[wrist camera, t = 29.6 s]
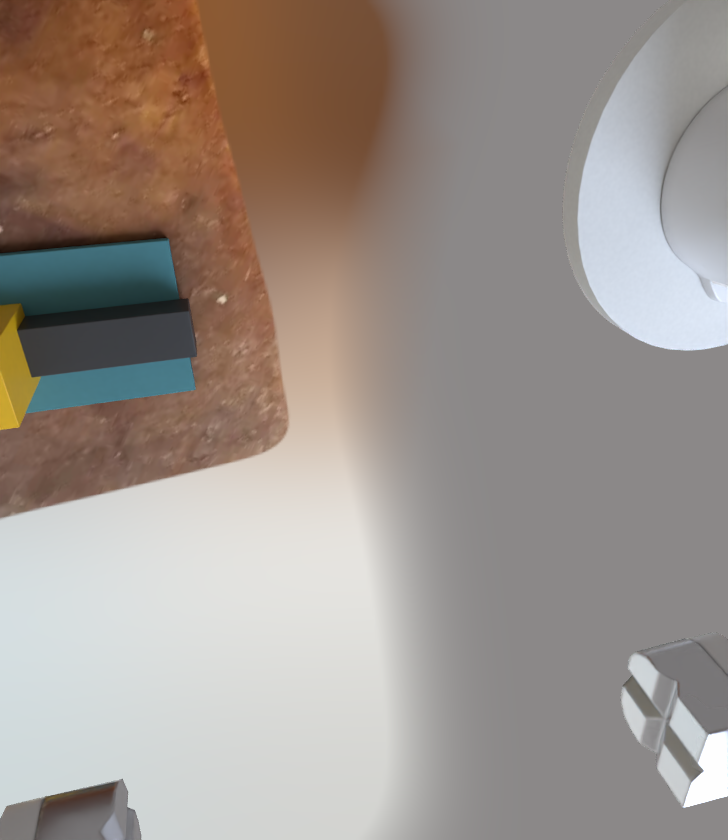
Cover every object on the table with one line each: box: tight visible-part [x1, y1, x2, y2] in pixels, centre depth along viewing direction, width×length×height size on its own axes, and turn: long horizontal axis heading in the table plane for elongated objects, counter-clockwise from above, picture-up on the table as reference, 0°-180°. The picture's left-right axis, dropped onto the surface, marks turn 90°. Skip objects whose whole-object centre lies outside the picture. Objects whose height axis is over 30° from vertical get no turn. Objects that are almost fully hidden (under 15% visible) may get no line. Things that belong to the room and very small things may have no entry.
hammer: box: [0, 298, 197, 430], centre depth 37 cm, size 16×5×7 cm, turn 92°
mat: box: [0, 238, 195, 413], centre depth 40 cm, size 14×10×1 cm
